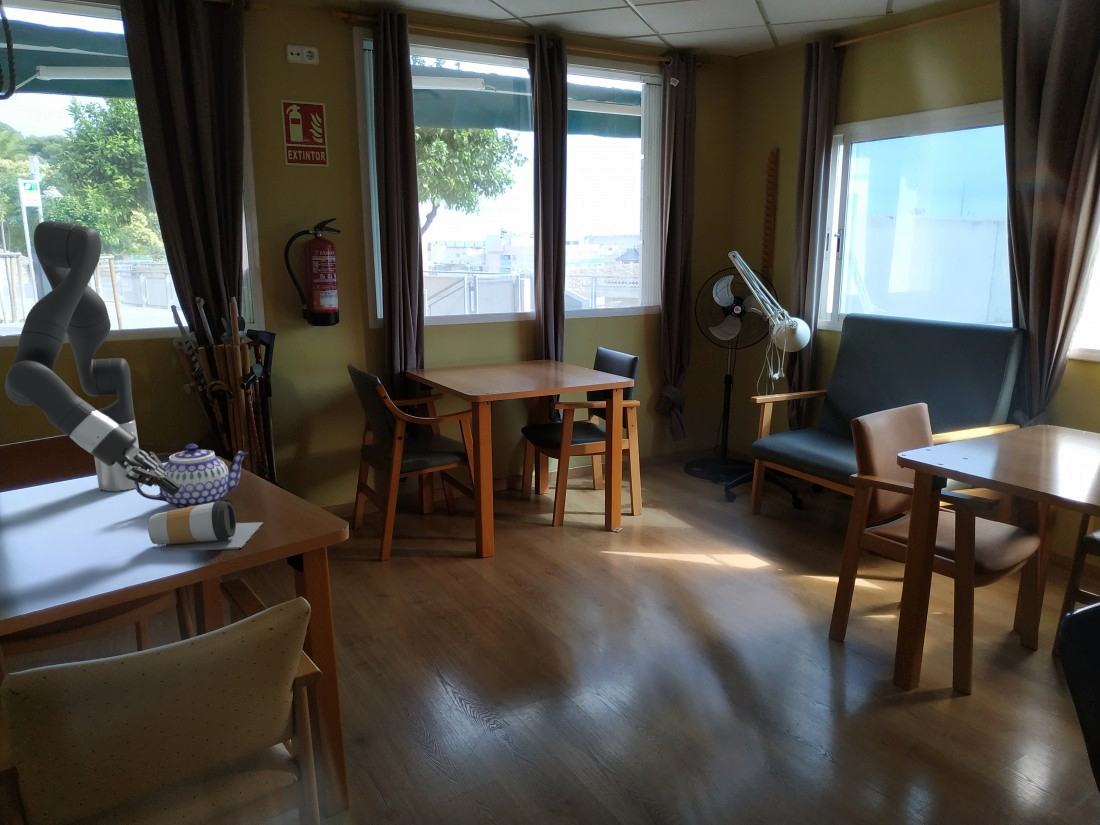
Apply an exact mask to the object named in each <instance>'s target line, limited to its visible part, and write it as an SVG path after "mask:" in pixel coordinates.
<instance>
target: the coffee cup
mask: <svg viewBox="0 0 1100 825" xmlns="http://www.w3.org/2000/svg"><path fill="white" fill-rule="evenodd" d="M234 508H235V507H234V506H233V504H232V503H231V502H230V501H225V500H220V501H215V502H213V503H208V504H203V505H196V506H191V507H186V508H181V509H172V510H168V511H163V512H159V513H155V514H153V515H151V516H150V518H149V520H148V523H147V524H148V525H147V531H148V536H149V539H150V541H151V543H153V544H154V545H157V546H162V545H164V546H165V545H166V544H183V543H196V542H204V541H215V540H219V541H222V540H227V539H228V538H229V537H232V536H234V534H235V530H236V523H237V518H236V512H235V509H234Z"/></svg>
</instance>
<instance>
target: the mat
mask: <svg viewBox="0 0 1100 825" xmlns="http://www.w3.org/2000/svg"><path fill="white" fill-rule="evenodd" d="M262 524H263V525H264V522H263V521H261V522H236V530H235V534H234V536H232V537H229V538H228V539H227V540H222V541H219V540H215V541H204V542H196V543H183V544H165V545H164V546H163V547H161V549H160V552H182V551H210V550H211V551H212V550H213V551H214V550H239V548H242V547H243V546H245V545H247V543H248V542H249V541H250V540H251V539H250V538H252V537H253V536H254V535H255V534H256V533H257V532H258V531H259V530H260V528H261V527H262V526H263V525H262ZM261 525H262V526H261ZM260 526H261V527H260ZM259 527H260V528H259ZM257 530H258V531H257ZM256 531H257V532H256ZM255 532H256V533H255ZM254 533H255V534H254ZM253 534H254V535H253ZM252 535H253V536H252ZM251 536H252V537H251ZM249 539H250V540H249ZM248 540H249V541H248ZM247 541H248V542H247ZM246 542H247V543H246ZM243 548H244V547H243ZM243 548H242V549H243Z"/></svg>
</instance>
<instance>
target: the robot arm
mask: <svg viewBox="0 0 1100 825" xmlns="http://www.w3.org/2000/svg"><path fill="white" fill-rule="evenodd" d="M33 232H34V233H33V245H34V251H35V255H36V257H37V260H38V262H39V265H40V266H41V268H42V271H43V272H44V274H45V277H46V279H47V281H48V283H49V285H50V287H51V291H50V292H48V293H47V294H45V295H44V296H43V297H42V298H40V299H39V300H38V301H37V302H36V303H35V304H33V306H32V307H31V309H30V310H29V312H28V313H27V315H26V318H25V321H24V323H23V327H22V330H21V333H20V336H19V340H18V346H17V351H16V355H15V358H14V360H13V362H12V365H11V366H10V368H9V369H8V370H7V374H6V378H5V382H4V390H5V394H6V396H7V397H8V398H9V400H10V401H11V402H13V403H14V404H16V405H19V406H25V407H30V406H36V407H37V408H39V409H40V410H41V411H42V413H44V414H45V417H46V419H47V421H48V422H49V423H50V424H52V425H53V426H54V427H55V428H57V429H58V430H60V431H61V432H62V433H63V434H65V435H66V436H68V437H69V438H70V439H71V440H72V441H73V442H74V443H76V444H77V446H80V448H82V449H84V450H85V451H86V452H88V453H89V454H90V455H92V456H93V458H94V463H95V470H96V477H97V478H96V479H97V485H98V490H99V491H105V490H106V492H121V491H120V490H123V491H127V490H126V489H129V490H132V489H131V488H133V489H136V488H135V485H134V481H136V482H139V486H140V487H141V486H143V485H145V486H148V487H151V488H152V486H154V487H157V486H158V488H159V487H160V488H162V489H163V490H165V491H166V492H167V493H169V494H170V495H172V496H174V495H175V494H176V493H177V492H178V491H179V490H180V488H181V486H180V485H179V484H178V483H176V482H175V481H174V480H172V479H171V478H169V477H168V476H166V475H167V473H166V471H167V470H166V468H165V467H164V464H163V462H161V460H160V459H159V458H158V457H157V455H156V454H155V453H154V452H153V451H148V453H147V452H146V451H144V450H142V449H141V448H140V447H139V439H138V438H139V437H138V431H137V424H136V415H135V411H134V410H135V409H134V402H133V394H132V393H133V391H132V378H131V377H132V376H131V370H130V369H131V368H130V364H129V363H128V361H127V359H125V358H123V357H122V358H121V357H116V358H98V359H97V358H96V359H93V358H94V355H95V353H96V352H97V351H98V349H99V348H100V347H101V345H103V344H104V342H105V341H106V340H107V338H108V335H109V334H110V332H111V327H112V324H111V320H110V317H109V313H108V308H107V305H106V303H105V301H104V300H103V298H102V297H101V296H100V295H99V293H97V292H96V291H95V290H94V289H93V288H92V287H91V286H90V285H89V283H90V281H91V279H92V277H93V275H94V273H95V271H96V269H97V268H98V264H99V262H100V259H101V258H100V257H101V253H102V241H101V240H102V239H101V236H100V234H99V232H98V230H96V229H95V228H93V227H90V226H87V225H86V226H85V225H79V224H74V223H67V222H61V221H52V220H51V221H50V220H48V221H47V220H44V221H41V222H39V223H38V224H37V225H36V227H35V229H34V231H33ZM66 335H67V338H68V341H69V344H70V347H71V349H72V353H73V356H74V360H75V365H76V369H77V375H78V378H79V383H80V386H81V388H82V390H83V392H84V394H85V395H87V396H89V397H108V396H117V399H116V400H115V401H114V402H112V403H111V404H109V405H108V406H105V407H102V408H100V409H96V408H95V407H94V406H93V405H91V404H90V403H88V401H85V400H84V399H82V397H79V396H78V395H77V394H76V393H75V392H74V391H73V390H72V389H71V388H70V386H68V385H67V383H65V382H64V381H63V379H61V378H60V376H58V375H57V374H56V373H55V372H54V370H55V365H56V361H57V359H58V357H59V355H60V353H61V350H62V348H63V345H64V341H65V337H66ZM142 484H143V485H142ZM160 488H159V489H160ZM101 489H102V490H101Z"/></svg>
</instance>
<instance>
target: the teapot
mask: <svg viewBox="0 0 1100 825" xmlns="http://www.w3.org/2000/svg"><path fill="white" fill-rule="evenodd" d="M184 448H185V450H182V451H179V452H176V453H173V454H171V455H169V457H168V458H169V460H168V461H167V462H166V463H165V464H163V466H164V467H165V468H166V470H167V471H166V473H167V475H166V476H168V477H169V478H171V479H172V480H174V481H175V482H176V483H178V484H179V485H180V486H181V488H180V490H179V491H178V492H177V493H176V494H175V495H174V496H172V495H170V494H169V493H167V492H166V491H165V490H163V489H162V488H160V487H159V486H158V488H159V493H158V494H148V493H146V492H144V491H143V489H142V488H141V486H139V482H136V481H134V485H135V488H134V489H135V490H136V492H137V493H138V494H139V495H141V497H142V498H146V499H149V500H154V501H162V502H166V503H168V504H169V505H171V506H173V507H174V510H176V509H181V508H186V507H191V506H196V505H203V504H208V503H213V502H215V501H222V499H223V498H224V497H225V496H226V495H227V494H228V493H229V492H232V491H233V490H234V489H236V488H237V486H238V485H239V482H240V479H241V470H242V462H243V459H244V458H245V457H246V456H247V455H249V452H248V451H245V450H239V451H238V452H237V453H236V454H235V455H234V458H233V459H232V462H231V463H230V464H229V465H226V463H225V462H224V460H222V459H220V458H218V457H217V456H216V454H215V451H214V450H210V449H198V448H199V446H198V445H197V444H195V443H188V444H187V445H185V447H184Z"/></svg>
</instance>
